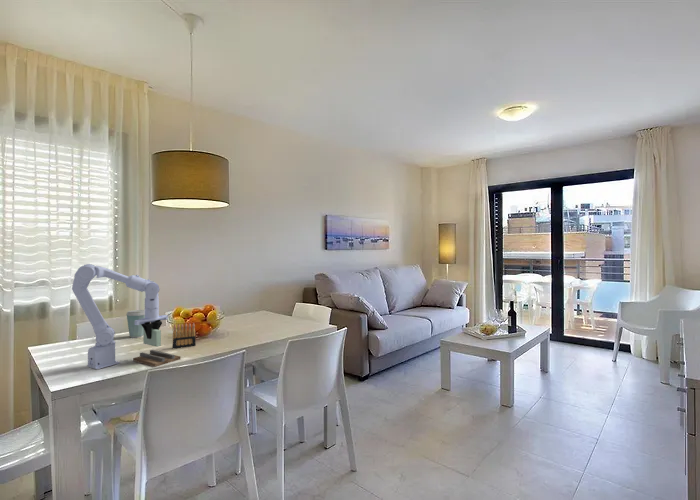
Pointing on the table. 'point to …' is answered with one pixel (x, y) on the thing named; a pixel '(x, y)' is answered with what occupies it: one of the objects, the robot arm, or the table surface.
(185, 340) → the ammunition clip
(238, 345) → the table surface
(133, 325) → the disposable coffee cup
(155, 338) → the grey-green rectangular block
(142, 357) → the track base
